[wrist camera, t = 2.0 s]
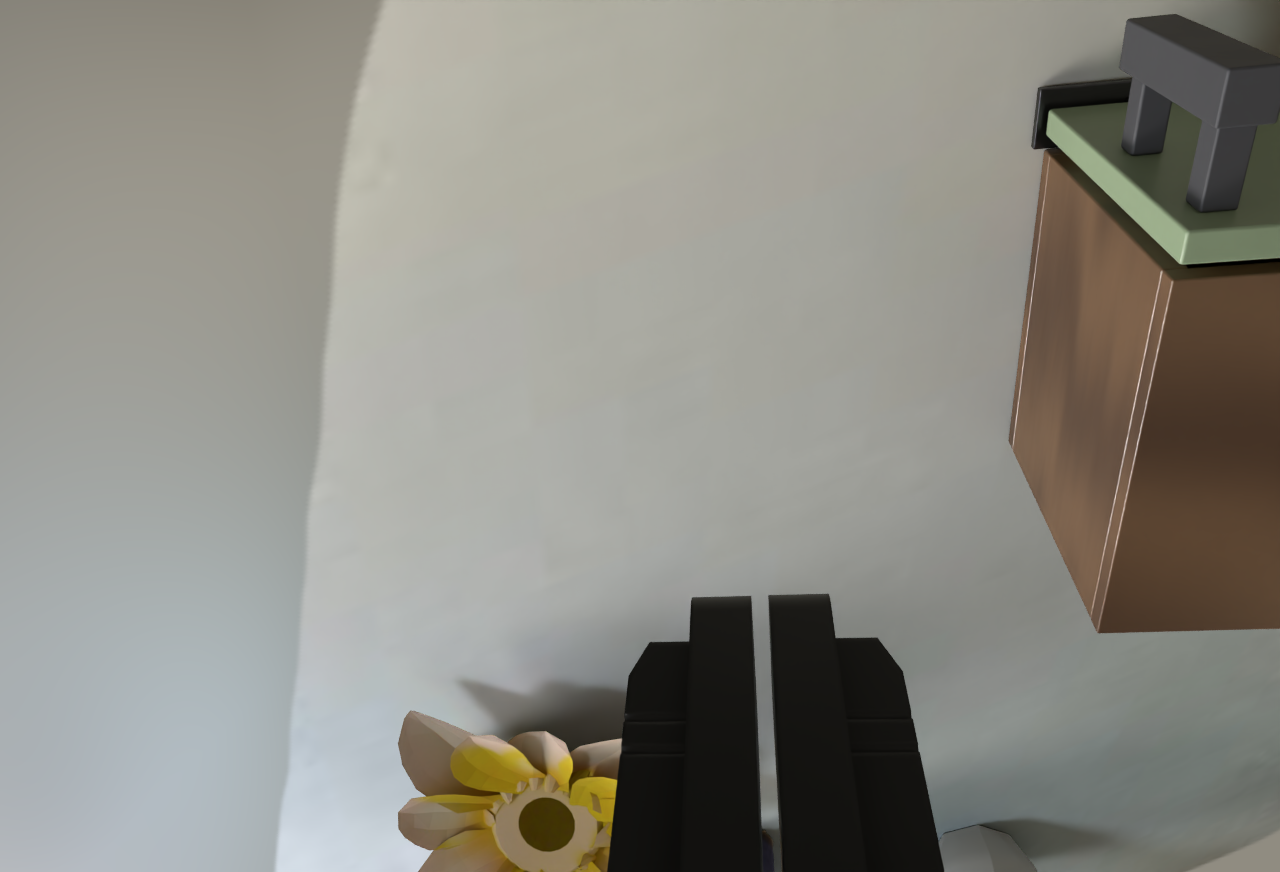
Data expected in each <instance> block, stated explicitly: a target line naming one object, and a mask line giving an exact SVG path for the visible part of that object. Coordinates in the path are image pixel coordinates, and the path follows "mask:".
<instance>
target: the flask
mask: <svg viewBox="0 0 1280 872" xmlns="http://www.w3.org/2000/svg"><path fill="white" fill-rule="evenodd" d="M773 843H774V842H773V840H772V838H771V837H770V836H769V835H768V834H767V833H766V830H763V831H762V852H763V872H774V855H773Z"/></svg>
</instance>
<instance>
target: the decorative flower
mask: <svg viewBox="0 0 1280 872" xmlns="http://www.w3.org/2000/svg"><path fill="white" fill-rule="evenodd" d="M621 741H622V739H615V740H608V741H602V742H597V743H593V744H588V745H583V746H579V747H578V748H576V749H575V750H573V751H572V752H570V753H569V751H568V749H567V746H566V744H565V742H563V741H562V740H560V739H558V738H556V737H555V736H553V735H551V734H550V733H548V732H546V731H539V732H526V733H522V734H519V735H516V736H515V737H514V738H512V739H511V740H510V741H508V743H507V742H505V741H503V740H501V739H499V738H498V737H496V736H494V735H481V736H476V735H473V734H471V733H469V732H467V731H464V730H462V729H460V728H457V727H455V726H453V725H451V724H449V723H446V722H444V721H441V720H438V719H435V718H433V717H430V716H427V715H424V714H422V713H419V712H416V711H410V712H409V713H408V714H407V715H406V717H405V718H404V722H403V726H402V730H401V734H400V738H399V742H398V746H399V751H400V755H401V760H402V765H403V767H404V769H405V770H406V772H407V774H408V776H409V777H410V779H411V781H412V782H413V784H414V786H415V788H416V789H417V790H418V791H420V792H421V793H423V794H424V795H426V797H419V798H412V799H411V800H410V801H409V802H408V803H407V804H406V805H405V806H404V807H403V808H402V809H401V810H400V811H399V812H398V827H399V830H400V831H401V833H402V834H403V836H404V837H405V838H406V839H408V840H409V841H411V842H412V843H414V844H415V845H417V846H420V847H422V848H425V849H427V850H434V851H433V852H432V853H431V855H430V856H429V857H428V859H427V860H426V862H425V863H424V864H423V866H422V867H421V868H420V870H419V871H418V872H607V868H608V859H609V850H610V841H611V832H612V823H613V814H614V805H615V795H616V786H617V777H618V768H619V759H620V754H621Z"/></svg>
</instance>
